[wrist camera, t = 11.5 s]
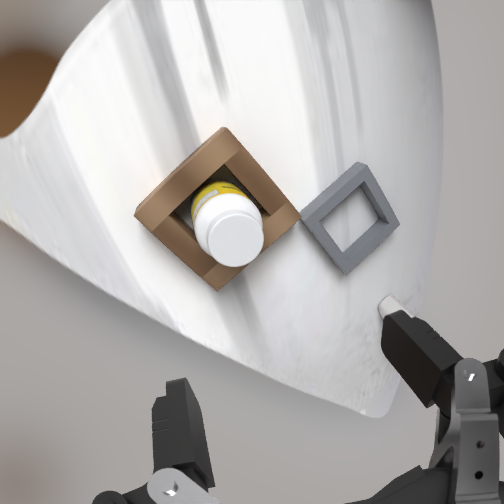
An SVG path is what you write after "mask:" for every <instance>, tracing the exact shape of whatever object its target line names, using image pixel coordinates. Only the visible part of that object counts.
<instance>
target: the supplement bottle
mask: <svg viewBox="0 0 504 504" xmlns="http://www.w3.org/2000/svg"><path fill="white" fill-rule="evenodd" d="M191 216H192V221H193V226H194V230H195V235H196V238H197V241H198V243H199V245H200V247H201V248H202V249H203V250H204V251H205V252H206V253H207V254H208V255H210V256H212V257H213V258H214V259H215V260H216V261H218V262H219V263H221V264H223V265H225V266H229V267H239V266H243V265H246V264H248V263H250V262H251V261H253V260H254V259H255V258H256V257H257V256H258V254H259V253H260V251H261V249H262V247H263V242H264V235H263V231H262V229H263V223H262V218H261V215H260V212H259V210H258V209H257V207H256V206H255V205H254V203H253V202H252V201H251V200H250V199H249V198H248V197H247V196H246V195H245V194H244V193H243V192H242V191H241V190H240V189H239V188H238V187H237V186H235V185H234V184H232V183H230V182H228V181H223V180H214V181H210V182H208V183H206V184H204V185H203V186H201V187H200V188H199V189H198V190H197V191H196V193H195V194H194V196H193V198H192V201H191Z"/></svg>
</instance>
